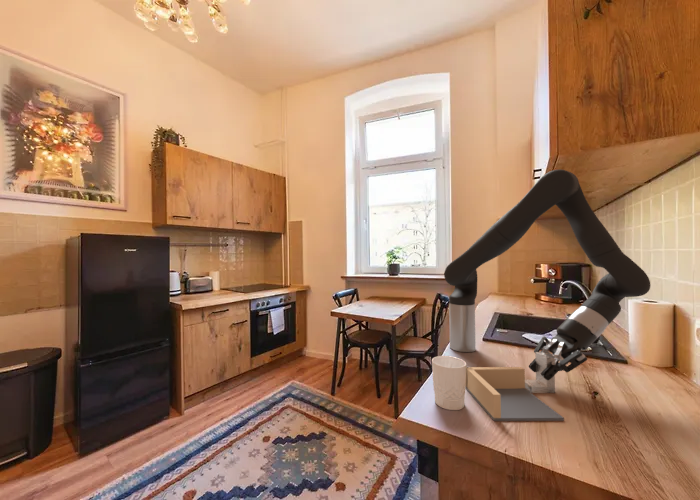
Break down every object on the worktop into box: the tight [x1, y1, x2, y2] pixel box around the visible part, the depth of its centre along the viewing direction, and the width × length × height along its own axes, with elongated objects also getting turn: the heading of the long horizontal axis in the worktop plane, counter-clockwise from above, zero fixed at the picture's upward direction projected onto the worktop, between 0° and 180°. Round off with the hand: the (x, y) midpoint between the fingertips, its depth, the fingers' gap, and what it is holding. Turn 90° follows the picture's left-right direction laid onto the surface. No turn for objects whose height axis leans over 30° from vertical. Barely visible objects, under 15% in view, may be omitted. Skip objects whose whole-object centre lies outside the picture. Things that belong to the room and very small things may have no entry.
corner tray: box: [465, 366, 565, 422], centre depth 68 cm, size 15×15×6 cm
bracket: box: [525, 352, 556, 394], centre depth 75 cm, size 4×6×9 cm
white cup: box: [431, 355, 467, 411], centre depth 68 cm, size 8×8×10 cm
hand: (537, 373), depth 75 cm, fingers closed on bracket, 4 cm apart
